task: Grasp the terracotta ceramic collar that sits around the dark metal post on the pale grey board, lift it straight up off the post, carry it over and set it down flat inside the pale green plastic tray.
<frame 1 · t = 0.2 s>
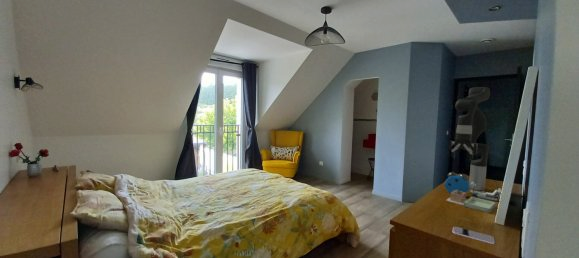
hand: (461, 159, 146), 27 cm above the dresser, fingers open, 8 cm apart
tray: (479, 206, 142), on the dresser
mobile phone: (472, 236, 109), on the dresser
ring: (457, 199, 151), point 1 cm above the dresser, touching stake board
alarm clock: (456, 195, 161), on the dresser
stake board: (457, 200, 151), on the dresser
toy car: (483, 198, 158), on the dresser
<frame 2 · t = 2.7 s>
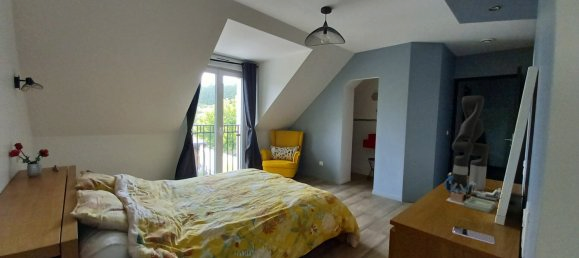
hand: (458, 198, 151), 1 cm above the dresser, fingers closed on ring, 6 cm apart
ring: (457, 199, 151), point 1 cm above the dresser, touching gripper, stake board
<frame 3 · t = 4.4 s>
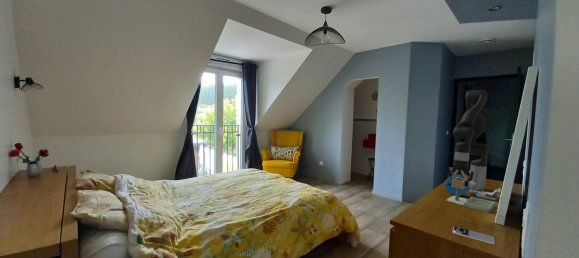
hand: (459, 185, 150), 10 cm above the dresser, fingers closed on ring, 6 cm apart
ring: (459, 186, 150), point 9 cm above the dresser, touching gripper
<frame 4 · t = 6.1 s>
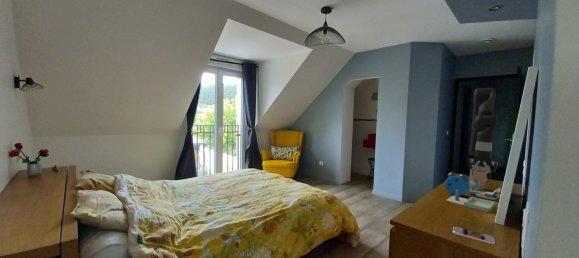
hand: (481, 177, 141), 18 cm above the dresser, fingers closed on ring, 6 cm apart
ring: (480, 178, 140), point 17 cm above the dresser, touching gripper
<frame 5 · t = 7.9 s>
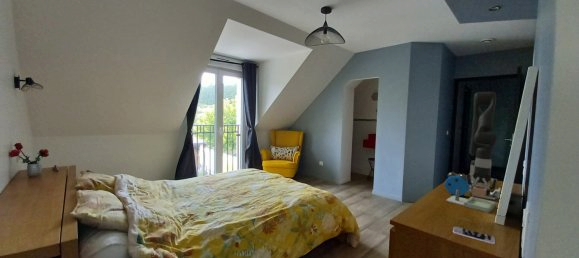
hand: (480, 193, 141), 8 cm above the dresser, fingers closed on ring, 6 cm apart
ring: (480, 195, 141), point 7 cm above the dresser, touching gripper
when the fingers open (3 cm above the dresser, at t = 9.5 s): ring drops 1 cm, resting on tray.
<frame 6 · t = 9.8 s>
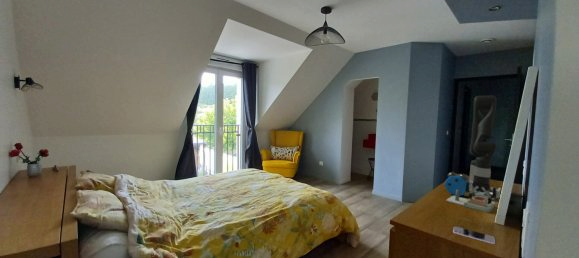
hand: (479, 201, 142), 3 cm above the dresser, fingers open, 8 cm apart
ring: (479, 205, 141), point 1 cm above the dresser, touching tray
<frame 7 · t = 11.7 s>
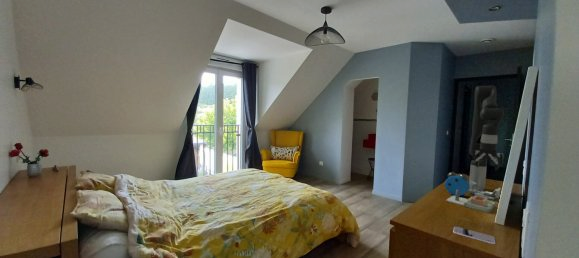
hand: (486, 168, 144), 22 cm above the dresser, fingers open, 8 cm apart
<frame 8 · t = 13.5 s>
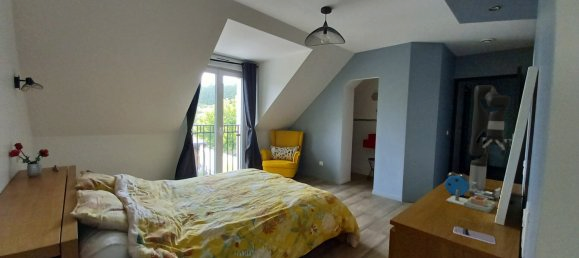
hand: (493, 154, 147), 30 cm above the dresser, fingers open, 8 cm apart
at the end: ring inside the target area on the tray (0.8 cm from its centre), point 0.6 cm above the tray's base; ring tilted 0°; the gripper is holding nothing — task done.
